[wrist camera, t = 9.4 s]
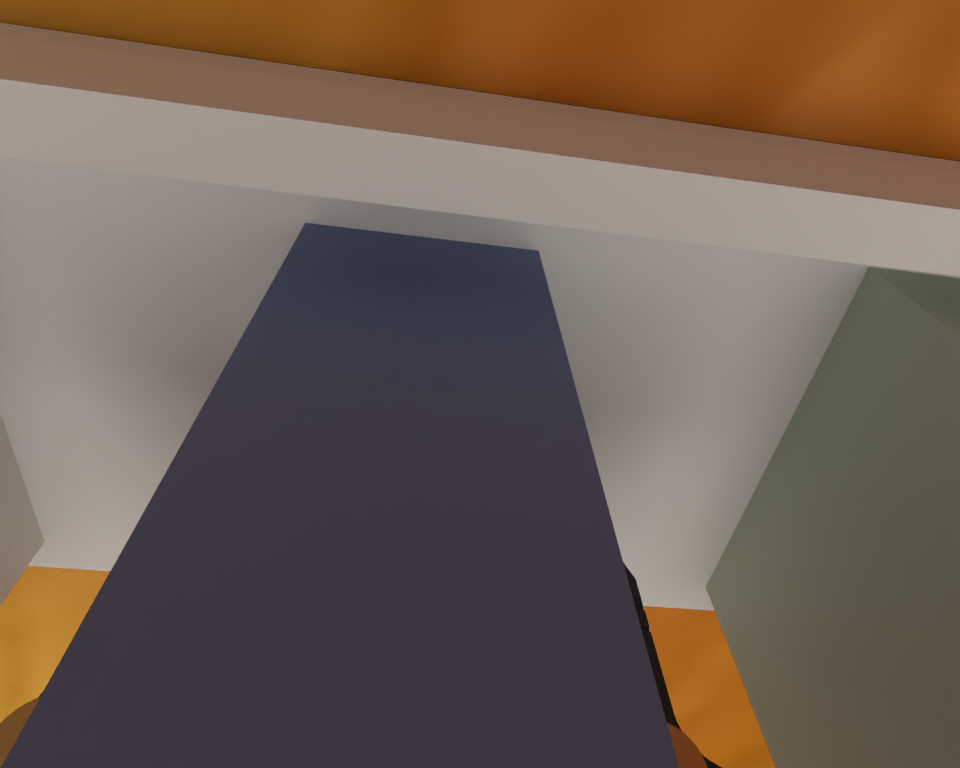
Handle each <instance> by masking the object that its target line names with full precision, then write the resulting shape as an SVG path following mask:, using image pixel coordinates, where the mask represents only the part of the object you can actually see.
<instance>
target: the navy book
mask: <svg viewBox="0 0 960 768" xmlns="http://www.w3.org/2000/svg"><path fill="white" fill-rule="evenodd" d="M1 768H679V766H678V763H677V759H676V755H675V752H674V748H673V744H672V740H671V737H670V733H669V729H668V726H667V722H666V718H665V715H664V711H663V707H662V704H661V700H660V696H659V693H658V689H657V685H656V682H655V678H654V674H653V670H652V667H651V663H650V659H649V656H648V652H647V648H646V645H645V641H644V637H643V634H642V630H641V626H640V623H639V619H638V615H637V611H636V608H635V604H634V600H633V597H632V593H631V589H630V586H629V582H628V578H627V575H626V571H625V567H624V564H623V560H622V556H621V553H620V549H619V545H618V541H617V538H616V534H615V530H614V527H613V523H612V519H611V516H610V512H609V508H608V505H607V501H606V497H605V494H604V490H603V486H602V482H601V479H600V475H599V471H598V468H597V464H596V460H595V457H594V453H593V449H592V446H591V442H590V438H589V435H588V431H587V427H586V424H585V420H584V416H583V412H582V409H581V405H580V401H579V398H578V394H577V390H576V387H575V383H574V379H573V376H572V372H571V368H570V365H569V361H568V357H567V354H566V350H565V346H564V342H563V339H562V335H561V331H560V328H559V324H558V320H557V317H556V313H555V309H554V306H553V302H552V298H551V295H550V291H549V287H548V283H547V280H546V276H545V272H544V269H543V265H542V261H541V258H540V254H539V251H538V250H529V249H521V248H512V247H504V246H496V245H487V244H479V243H471V242H462V241H454V240H446V239H437V238H429V237H421V236H412V235H404V234H395V233H387V232H379V231H370V230H362V229H354V228H345V227H337V226H329V225H320V224H312V223H305V224H304V226H303V228H302V229H301V231H300V233H299V235H298V237H297V238H296V240H295V242H294V244H293V246H292V247H291V249H290V251H289V253H288V255H287V256H286V258H285V260H284V262H283V263H282V265H281V267H280V269H279V271H278V272H277V274H276V276H275V278H274V280H273V281H272V283H271V285H270V287H269V289H268V290H267V292H266V294H265V296H264V297H263V299H262V301H261V303H260V305H259V306H258V308H257V310H256V312H255V314H254V315H253V317H252V319H251V321H250V323H249V324H248V326H247V328H246V330H245V331H244V333H243V335H242V337H241V339H240V340H239V342H238V344H237V346H236V348H235V349H234V351H233V353H232V355H231V357H230V358H229V360H228V362H227V364H226V365H225V367H224V369H223V371H222V373H221V374H220V376H219V378H218V380H217V382H216V383H215V385H214V387H213V389H212V391H211V392H210V394H209V396H208V398H207V400H206V401H205V403H204V405H203V407H202V408H201V410H200V412H199V414H198V416H197V417H196V419H195V421H194V423H193V425H192V426H191V428H190V430H189V432H188V434H187V435H186V437H185V439H184V441H183V442H182V444H181V446H180V448H179V450H178V451H177V453H176V455H175V457H174V459H173V460H172V462H171V464H170V466H169V468H168V469H167V471H166V473H165V475H164V476H163V478H162V480H161V482H160V484H159V485H158V487H157V489H156V491H155V493H154V494H153V496H152V498H151V500H150V502H149V503H148V505H147V507H146V509H145V510H144V512H143V514H142V516H141V518H140V519H139V521H138V523H137V525H136V527H135V528H134V530H133V532H132V534H131V536H130V537H129V539H128V541H127V543H126V544H125V546H124V548H123V550H122V552H121V553H120V555H119V557H118V559H117V561H116V562H115V564H114V566H113V568H112V570H111V571H110V573H109V575H108V577H107V578H106V580H105V582H104V584H103V586H102V587H101V589H100V591H99V593H98V595H97V596H96V598H95V600H94V602H93V604H92V605H91V607H90V609H89V611H88V613H87V614H86V616H85V618H84V620H83V621H82V623H81V625H80V627H79V629H78V630H77V632H76V634H75V636H74V638H73V639H72V641H71V643H70V645H69V647H68V648H67V650H66V652H65V654H64V655H63V657H62V659H61V661H60V663H59V664H58V666H57V668H56V670H55V672H54V673H53V675H52V677H51V679H50V681H49V682H48V684H47V686H46V688H45V689H44V691H43V693H42V695H41V697H40V698H39V700H38V702H37V704H36V706H35V707H34V709H33V711H32V713H31V715H30V716H29V718H28V720H27V722H26V723H25V725H24V727H23V729H22V731H21V732H20V734H19V736H18V738H17V740H16V741H15V743H14V745H13V747H12V749H11V750H10V752H9V754H8V756H7V757H6V759H5V761H4V763H3V765H2V766H1Z"/></svg>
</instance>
